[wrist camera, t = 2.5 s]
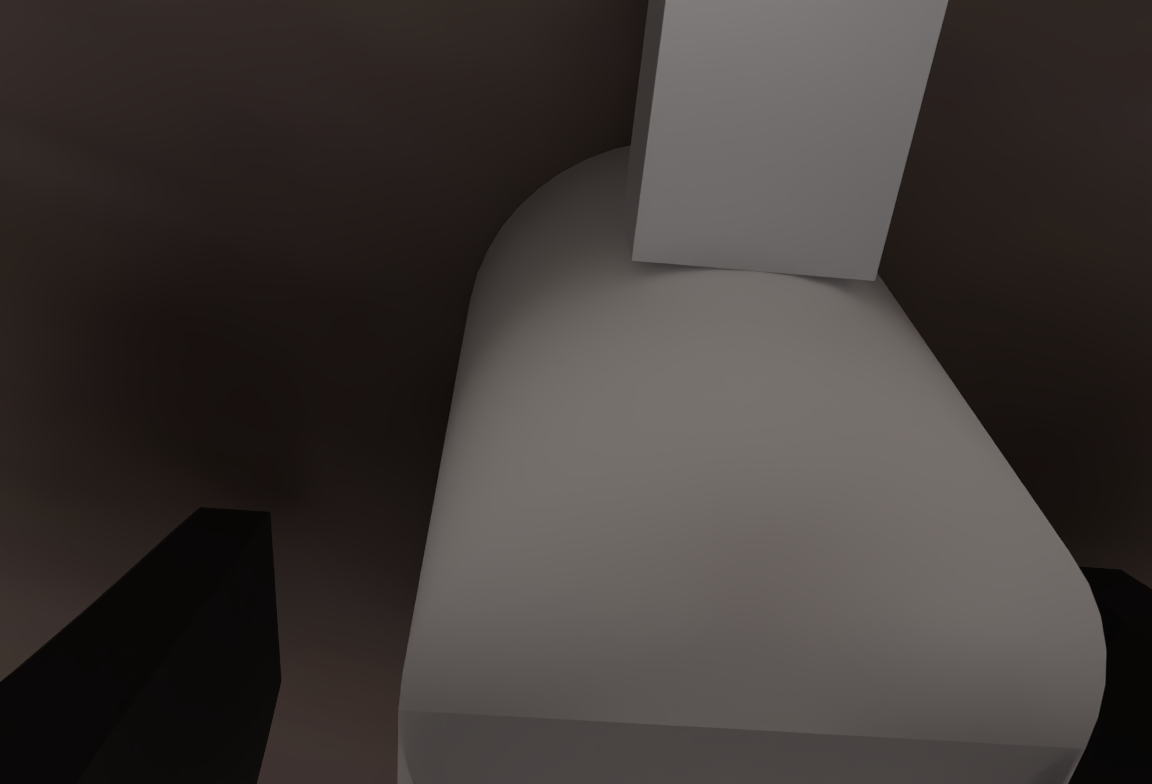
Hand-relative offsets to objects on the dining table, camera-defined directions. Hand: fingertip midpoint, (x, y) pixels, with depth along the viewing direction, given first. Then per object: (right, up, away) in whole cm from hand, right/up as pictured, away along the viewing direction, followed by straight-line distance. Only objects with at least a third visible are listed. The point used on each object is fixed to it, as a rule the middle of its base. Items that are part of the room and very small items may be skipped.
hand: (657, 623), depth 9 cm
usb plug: (0, +1, +2) cm, 2 cm away
